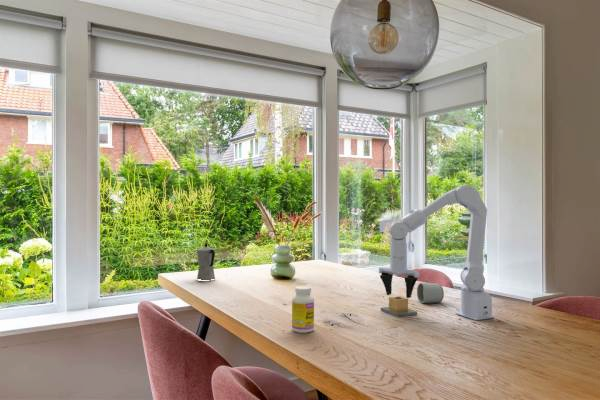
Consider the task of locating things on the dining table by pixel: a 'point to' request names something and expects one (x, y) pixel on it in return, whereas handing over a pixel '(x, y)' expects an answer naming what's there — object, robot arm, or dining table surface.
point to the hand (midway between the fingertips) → (398, 296)
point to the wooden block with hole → (398, 303)
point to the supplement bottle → (303, 310)
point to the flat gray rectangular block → (399, 314)
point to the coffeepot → (206, 263)
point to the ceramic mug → (430, 293)
